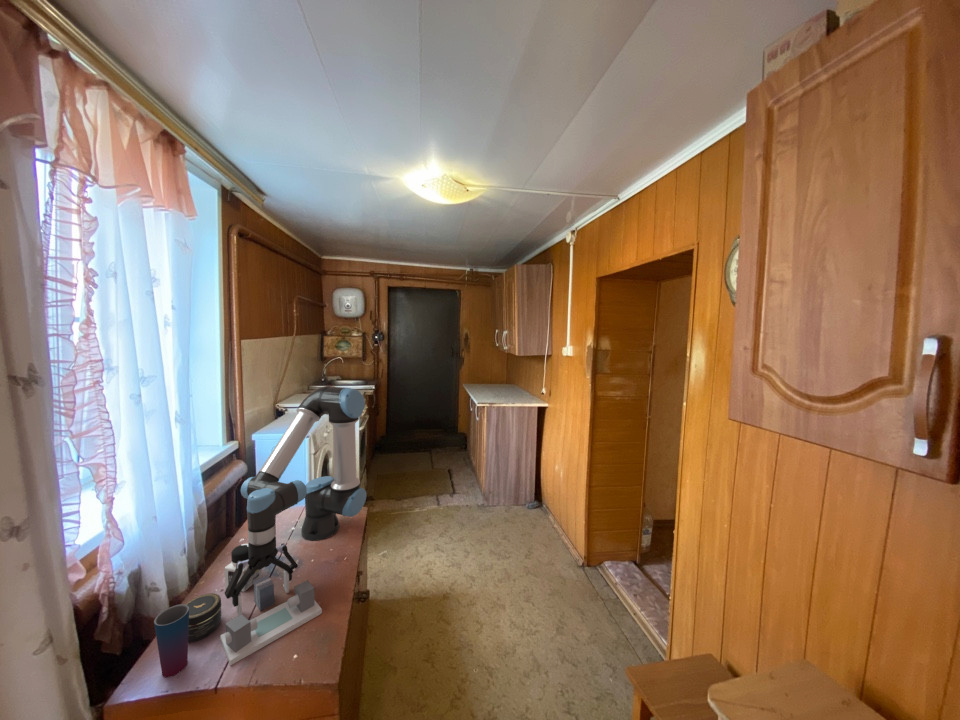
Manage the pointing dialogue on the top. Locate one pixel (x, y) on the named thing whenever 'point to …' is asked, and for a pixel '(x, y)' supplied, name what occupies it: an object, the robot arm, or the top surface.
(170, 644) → the cup
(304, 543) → the top surface
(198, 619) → the jar
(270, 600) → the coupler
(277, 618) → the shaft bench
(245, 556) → the container
